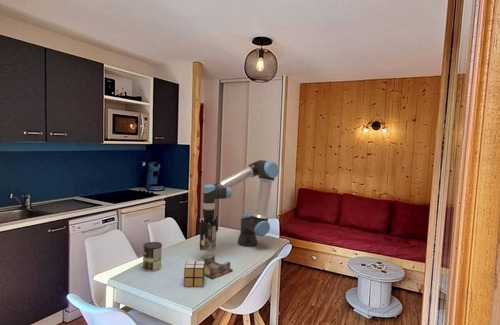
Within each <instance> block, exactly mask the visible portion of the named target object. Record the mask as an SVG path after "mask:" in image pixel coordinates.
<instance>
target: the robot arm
mask: <svg viewBox="0 0 500 325" xmlns="http://www.w3.org/2000/svg"><path fill="white" fill-rule="evenodd" d="M279 173H280V168H279V165H278V163H277V162H275V161H271V160H264V159H263V160H261V159H260V160H256V161H254V162H252V163H250V164H248V165H246V166H245V168H243V169H241V170H239V171H237V172H235V173H234V174H231V175H230V176H228V177H226V178H224V179H222V180H220V181H218V182H216V183H210V184H205V185H204V186H203V192H202V197H203V200H202V216H203V217H202V218H199V219H198V223H199V224H198V227H197V228H198V229H197V230H198V231H197V235H199V241H200V240H201V245H205V235H204V232H205V229H206V227H207V225H208V224H210V225H216V233H217V232H218V231H219V224H218V223H219V222H218V216H217V215H215V210H216V209H215V208H216V207H215V206H216V202H215V201H216V200H225V199H226V200H227V199H230V198H232V196H233V190H232V188H233V187H235V186H236V185H238V184H240V183H242V182H244V181H246V180H247V179H250V178H254V177H257V176H258V180H259V184H258V185H259V186H258V193H257V198H256V204H255V211H254V213H252V212H251V213H250V212H248V213H242V214H241V217H240V232H239V236H238V239H237V244H238V245H239V246H242V247H256V246H257V245H258V239H257V236H258V237H264V236H266V235H267V234H269V232H270V229H271V224H270V223H269V217H268V208H269V204H270V203H269V201H270V195H271V190H272V189H271V188H272V184H273V183H274V182H275V178H277V176H278V175H279Z"/></svg>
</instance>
